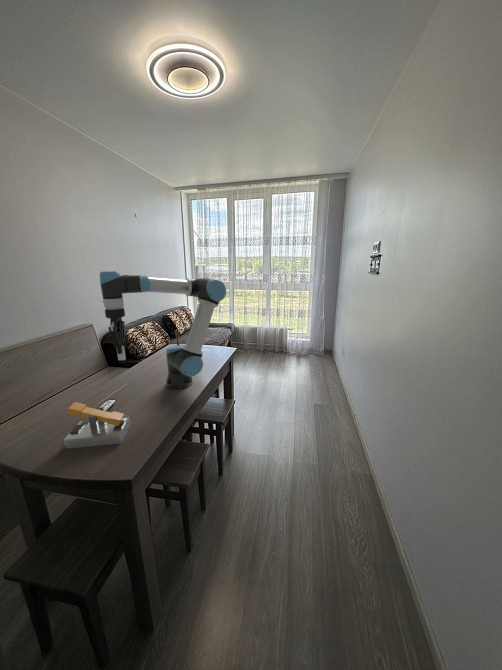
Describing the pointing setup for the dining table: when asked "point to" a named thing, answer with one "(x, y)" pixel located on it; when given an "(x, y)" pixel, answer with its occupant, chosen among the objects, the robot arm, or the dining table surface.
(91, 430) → the grey bracketed base
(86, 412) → the lever
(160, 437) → the dining table surface
